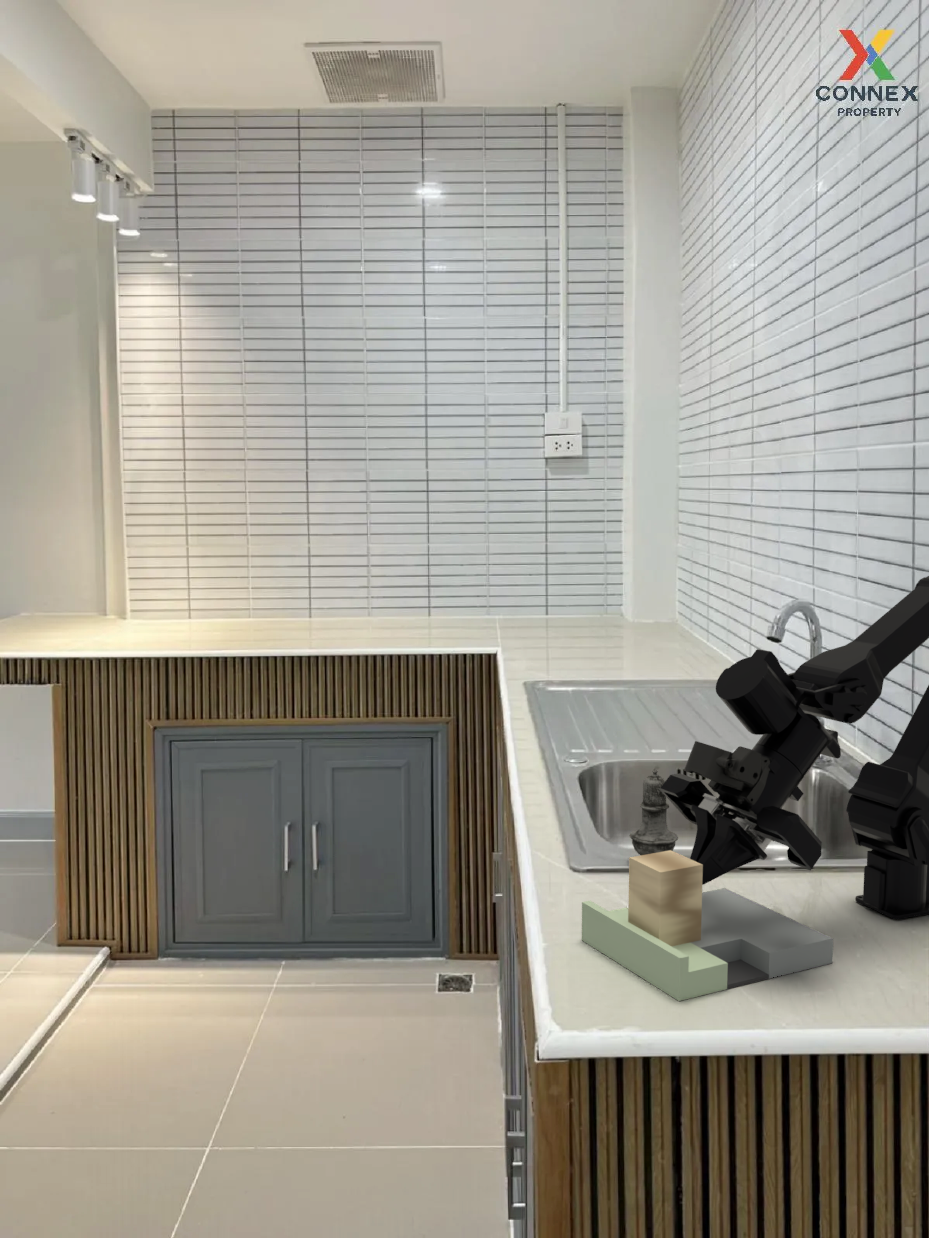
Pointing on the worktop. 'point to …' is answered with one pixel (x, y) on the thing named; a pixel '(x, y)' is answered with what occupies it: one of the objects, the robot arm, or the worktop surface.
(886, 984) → the worktop surface
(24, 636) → the worktop surface
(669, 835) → the salt shaker
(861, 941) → the worktop surface
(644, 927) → the beech block
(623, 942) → the board
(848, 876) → the worktop surface
